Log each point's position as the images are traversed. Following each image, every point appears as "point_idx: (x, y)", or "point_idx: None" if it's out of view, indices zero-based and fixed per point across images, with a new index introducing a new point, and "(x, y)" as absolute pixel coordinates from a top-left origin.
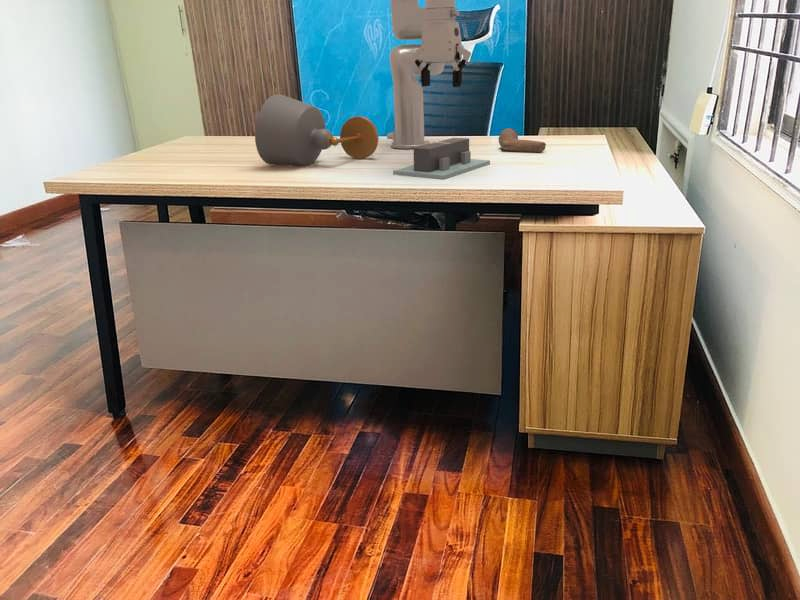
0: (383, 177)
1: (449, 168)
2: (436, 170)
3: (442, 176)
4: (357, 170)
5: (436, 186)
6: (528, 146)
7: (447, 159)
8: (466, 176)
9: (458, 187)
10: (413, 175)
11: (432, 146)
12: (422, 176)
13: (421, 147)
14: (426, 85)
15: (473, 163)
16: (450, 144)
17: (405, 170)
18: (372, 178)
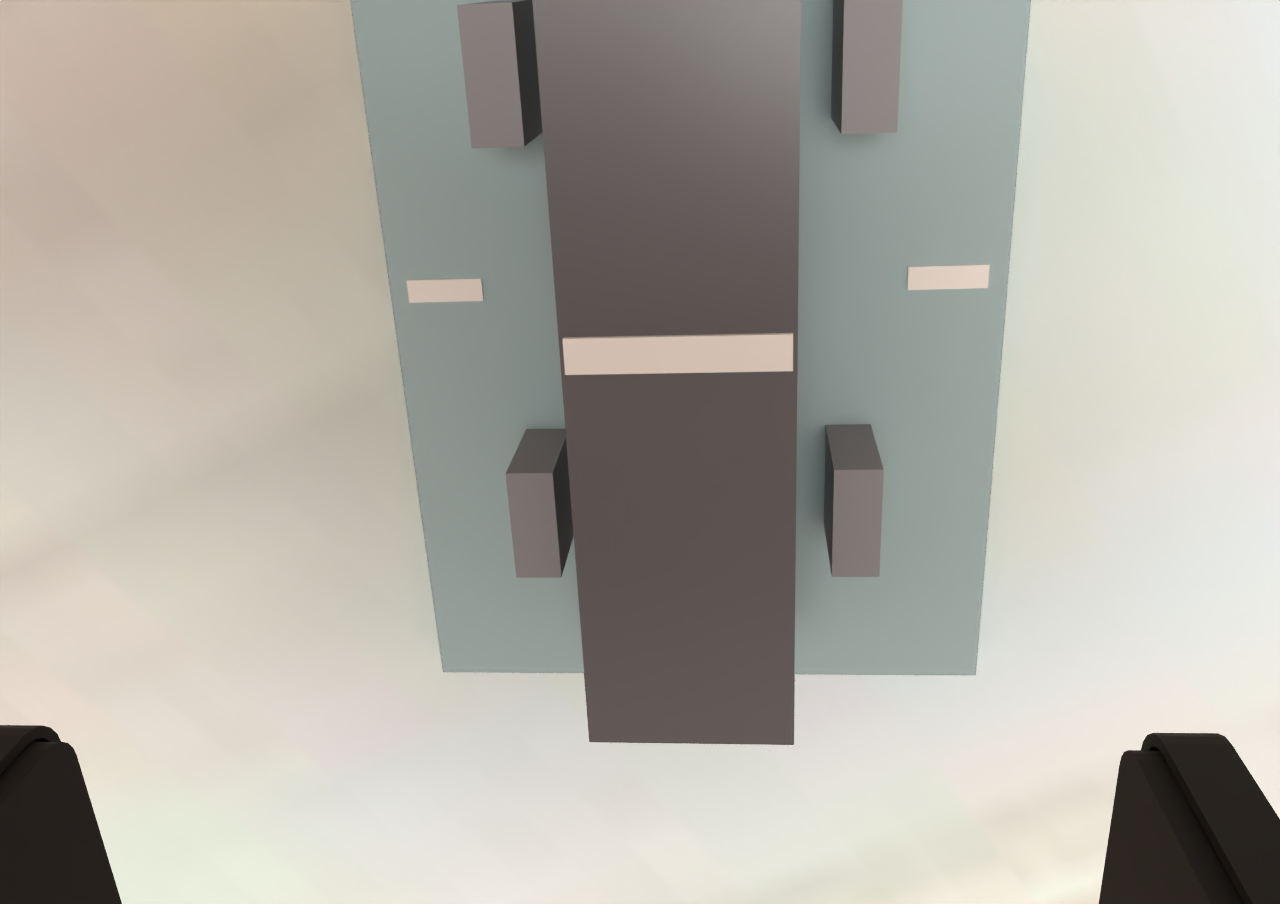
0: (469, 766)
1: (850, 392)
2: None
3: (960, 668)
4: (65, 637)
5: (1045, 860)
6: None
7: (880, 496)
8: (1098, 473)
9: None
10: None
11: (722, 601)
12: None
13: (649, 693)
14: (109, 890)
15: (951, 26)
16: (797, 338)
17: (534, 628)
18: (423, 820)
